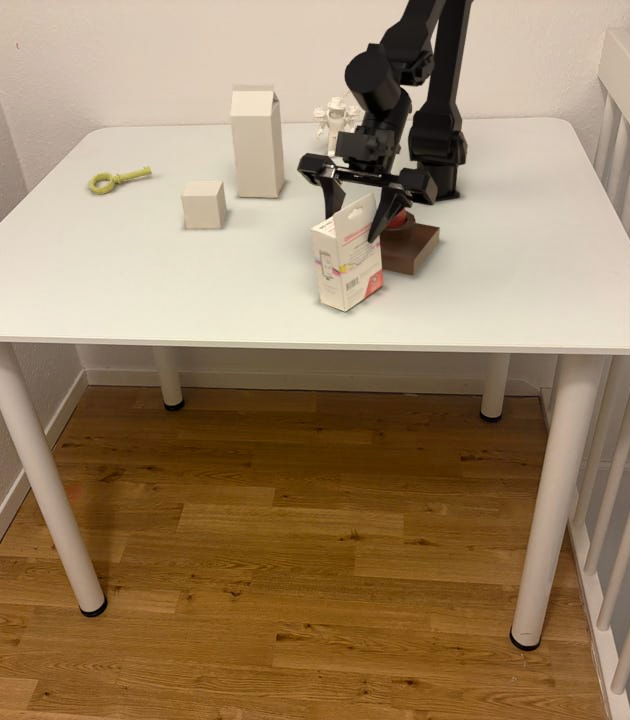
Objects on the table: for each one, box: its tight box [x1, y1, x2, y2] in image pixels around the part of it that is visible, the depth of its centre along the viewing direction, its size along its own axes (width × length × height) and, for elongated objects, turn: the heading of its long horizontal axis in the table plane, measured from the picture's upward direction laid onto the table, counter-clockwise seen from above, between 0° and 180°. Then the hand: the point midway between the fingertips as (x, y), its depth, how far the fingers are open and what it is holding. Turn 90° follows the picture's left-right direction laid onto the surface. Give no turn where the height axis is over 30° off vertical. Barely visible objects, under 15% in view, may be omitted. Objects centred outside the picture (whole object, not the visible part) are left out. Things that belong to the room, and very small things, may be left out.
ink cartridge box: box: [310, 191, 384, 312], centre depth 99 cm, size 9×5×15 cm, turn 135°
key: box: [88, 165, 152, 195], centre depth 140 cm, size 7×12×2 cm, turn 123°
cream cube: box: [180, 179, 228, 229], centre depth 123 cm, size 6×6×6 cm
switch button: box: [387, 208, 407, 226], centre depth 111 cm, size 4×4×2 cm
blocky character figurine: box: [312, 90, 361, 158], centre depth 141 cm, size 9×4×12 cm, turn 89°
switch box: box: [379, 210, 441, 277], centre depth 112 cm, size 11×13×4 cm
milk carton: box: [229, 83, 286, 199], centre depth 127 cm, size 7×7×19 cm
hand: (348, 238), depth 98 cm, fingers closed on ink cartridge box, 6 cm apart
